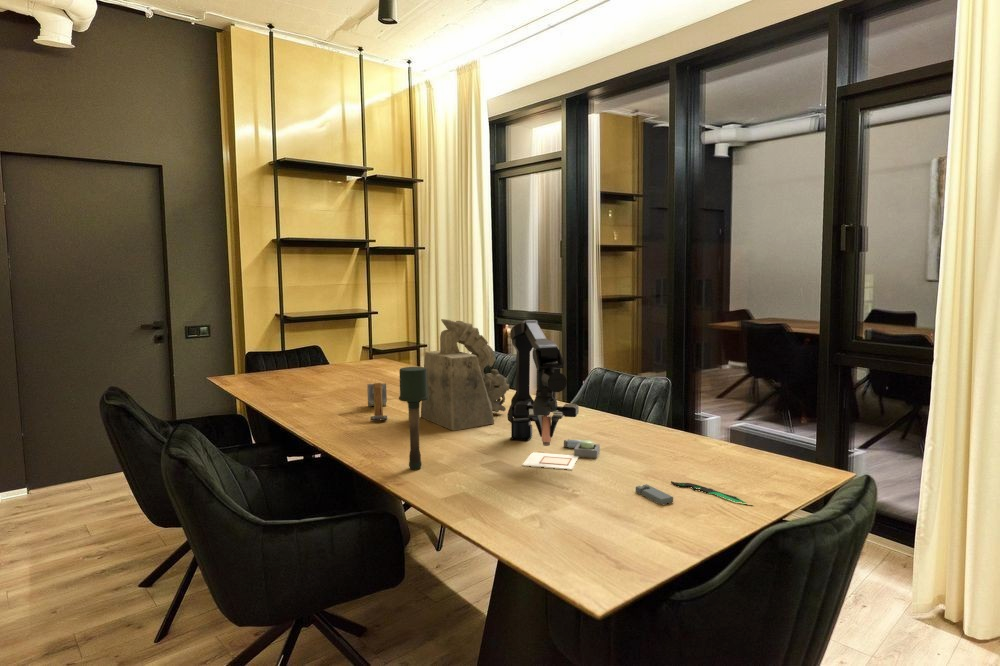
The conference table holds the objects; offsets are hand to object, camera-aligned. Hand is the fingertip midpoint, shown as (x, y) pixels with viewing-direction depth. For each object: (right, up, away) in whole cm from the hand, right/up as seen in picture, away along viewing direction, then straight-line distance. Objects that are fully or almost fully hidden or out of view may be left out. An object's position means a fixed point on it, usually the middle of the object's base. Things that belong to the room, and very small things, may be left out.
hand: (546, 436), depth 185 cm
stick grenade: (-39, -9, -3) cm, 40 cm away
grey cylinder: (+12, -6, +17) cm, 21 cm away
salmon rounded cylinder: (0, -3, 0) cm, 2 cm away
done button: (+14, -6, +9) cm, 17 cm away
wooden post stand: (-65, -2, +68) cm, 94 cm away
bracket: (+25, -11, -28) cm, 40 cm away
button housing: (+14, -7, +9) cm, 18 cm away
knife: (+41, -11, -26) cm, 49 cm away
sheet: (+2, -8, +2) cm, 8 cm away
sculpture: (-25, -3, +59) cm, 64 cm away
